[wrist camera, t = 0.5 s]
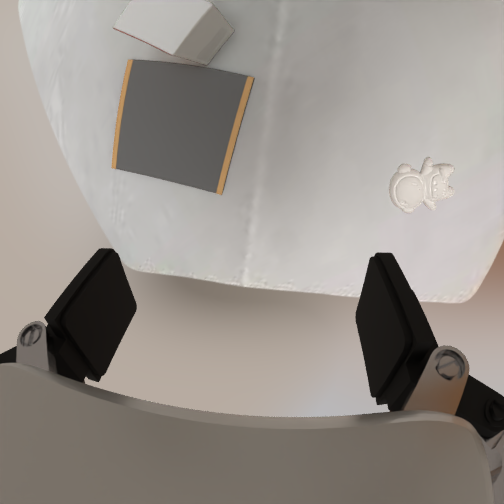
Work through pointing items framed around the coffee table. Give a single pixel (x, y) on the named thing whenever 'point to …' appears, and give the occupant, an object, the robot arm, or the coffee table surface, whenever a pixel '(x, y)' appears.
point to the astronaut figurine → (420, 185)
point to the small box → (177, 27)
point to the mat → (179, 122)
